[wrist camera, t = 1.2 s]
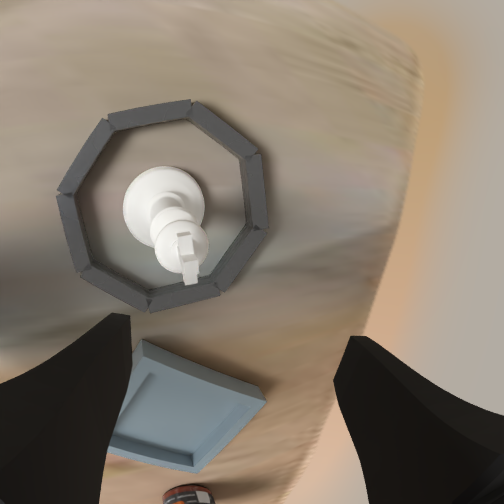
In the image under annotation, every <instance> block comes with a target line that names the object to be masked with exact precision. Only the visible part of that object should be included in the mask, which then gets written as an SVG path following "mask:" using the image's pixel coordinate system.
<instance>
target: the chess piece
mask: <svg viewBox="0 0 504 504" xmlns="http://www.w3.org/2000/svg"><path fill="white" fill-rule="evenodd" d="M204 211H205V204H204V198H203V194H202V191H201V189H200V187H199V185H198V183H197V182H196V181H195V179H194V178H193V177H192V176H190V175H189V174H188V173H186V172H185V171H183V170H181V169H178V168H175V167H170V166H160V167H154V168H151V169H149V170H146V171H145V172H143V173H141V174H140V175H139V176H138V177H136V178H135V179H134V180H133V182H132V183H131V184H130V186H129V188H128V189H127V191H126V194H125V197H124V202H123V214H124V219H125V222H126V225H127V227H128V228H129V230H130V232H131V233H132V234H133V236H134V237H135V238H136V239H137V240H139V241H140V242H141V243H143V244H145V245H147V246H150V247H153V248H155V254H156V257H157V259H158V261H159V263H160V264H161V265H162V266H163V267H164V268H165V269H167V270H169V271H171V272H174V273H182V274H183V280H184V283H185V286H186V285H191V284H196V283H198V278H197V273H199V266H200V265H201V264H202V263H203V262H204V260H205V259H206V257H207V254H208V250H209V241H208V237H207V235H206V233H205V231H204V230H203V229H202V228H201V227H200V225H201V223H202V220H203V217H204Z"/></svg>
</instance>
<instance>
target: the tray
mask: <svg viewBox="0 0 504 504" xmlns="http://www.w3.org/2000/svg"><path fill="white" fill-rule="evenodd" d="M132 362H133V366H132V371H131V376H130V380H129V385H128V389H127V393H126V396H125V399H124V402H123V404H122V407H121V410H120V413H119V416H118V419H117V422H116V425H115V428H114V431H113V434H112V437H111V440H110V443H109V447H108V450H107V452H108V453H111V454H115V455H118V456H121V457H125V458H129V459H132V460H136V461H140V462H144V463H148V464H152V465H156V466H161V467H165V468H170V469H175V470H180V471H185V472H191V473H198V472H199V471H200V470H202V469H203V468H204V467H205V466H206V465H207V464H208V463H209V462H210V461H211V460H212V459H213V458H214V457H215V456H216V455H217V454H218V453H219V452H220V451H221V450H222V449H223V448H224V447H225V446H226V445H227V444H228V443H229V442H230V441H231V440H232V439H233V438H234V437H235V436H236V435H237V434H238V433H239V432H240V430H241V429H242V428H243V427H244V426H245V425H246V424H247V423H248V422H249V421H250V420H251V419H252V418H253V417H254V415H255V414H256V413H257V412H258V411H259V410H260V409H261V408H262V407H263V406H264V404H265V403H266V402H267V401H266V399H265V397H264V395H263V394H262V392H261V390H260V389H259V387H258V386H256V385H253V384H250V383H247V382H244V381H241V380H239V379H236V378H233V377H230V376H228V375H225V374H222V373H220V372H217V371H215V370H212V369H210V368H207V367H205V366H202V365H200V364H197V363H195V362H192V361H190V360H187V359H185V358H183V357H180V356H178V355H176V354H173V353H171V352H169V351H167V350H164V349H162V348H160V347H158V346H155V345H153V344H151V343H149V342H147V341H145V340H142V339H141V341H140V342H139V344H138V345H137V347H136V348H135V350H134V352H133V353H132Z"/></svg>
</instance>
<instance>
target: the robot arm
mask: <svg viewBox="0 0 504 504" xmlns="http://www.w3.org/2000/svg"><path fill="white" fill-rule="evenodd" d="M132 366H133V362H132V345H131V322H130V315H123V314H117V313H111V314H110V315H108V316H107V317H106V318H104V319H103V320H102V321H101V322H99V323H98V324H97V325H95V326H94V327H93V328H92V329H90V330H89V331H88V332H86V333H85V334H84V335H83V336H81V337H80V338H79V339H77V340H76V341H75V342H73V343H72V344H71V345H69V346H68V347H66V348H65V349H63V350H62V351H60V352H59V353H57V354H56V355H54V356H53V357H51V358H50V359H48V360H47V361H45V362H44V363H42V364H40V365H38V366H37V367H35V368H33V369H31V370H29V371H27V372H25V373H24V374H22V375H20V376H17V377H15V378H13V379H10V380H8V381H6V382H3V383H1V384H0V504H99V499H100V491H101V483H102V477H103V471H104V465H105V459H106V454H107V450H108V447H109V443H110V440H111V437H112V434H113V431H114V428H115V425H116V422H117V419H118V416H119V413H120V410H121V407H122V404H123V402H124V399H125V396H126V393H127V389H128V385H129V380H130V376H131V371H132ZM333 382H334V387H335V392H336V396H337V400H338V404H339V407H340V410H341V412H342V415H343V418H344V420H345V423H346V425H347V428H348V431H349V433H350V436H351V438H352V441H353V443H354V446H355V449H356V451H357V454H358V456H359V460H360V463H361V467H362V471H363V475H364V479H365V484H366V489H367V494H368V500H369V504H504V416H503V415H499V414H496V413H493V412H490V411H488V410H485V409H482V408H480V407H478V406H475V405H473V404H470V403H468V402H466V401H464V400H462V399H460V398H458V397H456V396H454V395H452V394H451V393H449V392H447V391H445V390H443V389H442V388H440V387H438V386H437V385H435V384H433V383H432V382H430V381H429V380H427V379H426V378H424V377H423V376H421V375H420V374H419V373H417V372H416V371H414V370H413V369H411V368H410V367H409V366H407V365H406V364H405V363H403V362H402V361H400V360H399V359H398V358H397V357H395V356H394V355H393V354H391V353H390V352H389V351H387V350H386V349H384V348H383V347H382V346H380V345H379V344H378V343H376V342H375V341H373V340H372V339H370V338H368V337H367V336H350V339H349V341H348V344H347V347H346V349H345V352H344V355H343V357H342V360H341V362H340V365H339V367H338V370H337V372H336V375H335V377H334V379H333Z"/></svg>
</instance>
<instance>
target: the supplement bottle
mask: <svg viewBox="0 0 504 504" xmlns="http://www.w3.org/2000/svg"><path fill="white" fill-rule="evenodd" d="M163 504H215V501H214V498H213V496H212V494H211V492H210V491H209V490H208V489H207V488H204V487H201V486H195V485H189V486H181V487H176V488H174V489H172V490H169V491H168V492H166V493H165V494H164V495H163Z"/></svg>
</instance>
